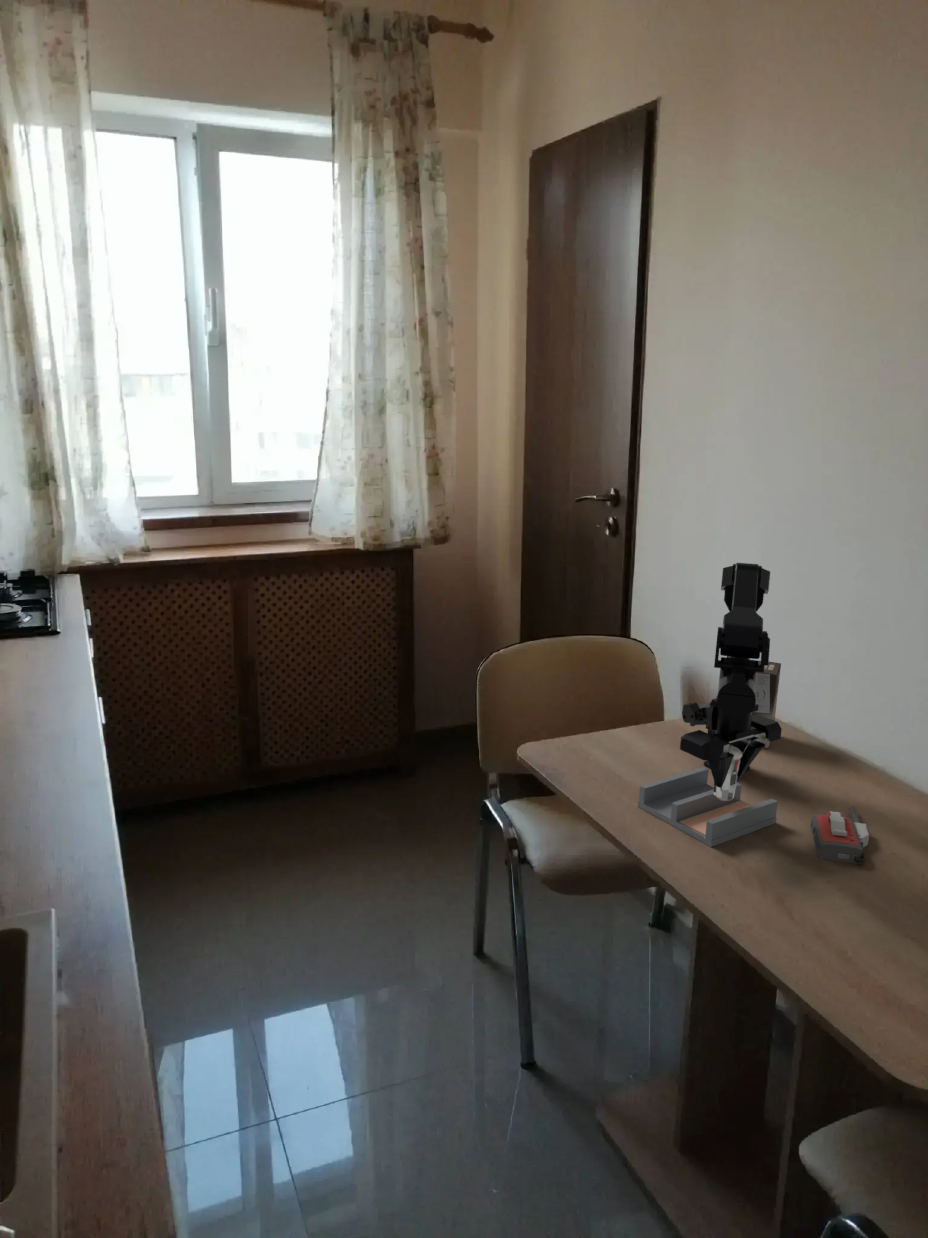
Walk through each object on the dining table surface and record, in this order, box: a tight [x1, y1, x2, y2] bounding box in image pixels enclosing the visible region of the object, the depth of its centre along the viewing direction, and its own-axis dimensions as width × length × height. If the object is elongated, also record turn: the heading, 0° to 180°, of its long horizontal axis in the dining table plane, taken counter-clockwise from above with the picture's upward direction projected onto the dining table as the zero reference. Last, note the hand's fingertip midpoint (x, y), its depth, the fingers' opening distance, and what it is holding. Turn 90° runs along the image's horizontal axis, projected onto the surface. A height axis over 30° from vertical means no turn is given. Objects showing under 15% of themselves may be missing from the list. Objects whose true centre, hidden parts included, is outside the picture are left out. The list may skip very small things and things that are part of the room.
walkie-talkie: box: [810, 805, 870, 865], centre depth 153 cm, size 9×4×20 cm
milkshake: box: [713, 743, 749, 801], centre depth 155 cm, size 5×5×10 cm
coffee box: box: [752, 659, 782, 749], centre depth 193 cm, size 9×6×16 cm
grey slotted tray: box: [637, 766, 778, 848], centre depth 160 cm, size 16×17×4 cm
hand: (726, 783), depth 155 cm, fingers closed on milkshake, 4 cm apart
